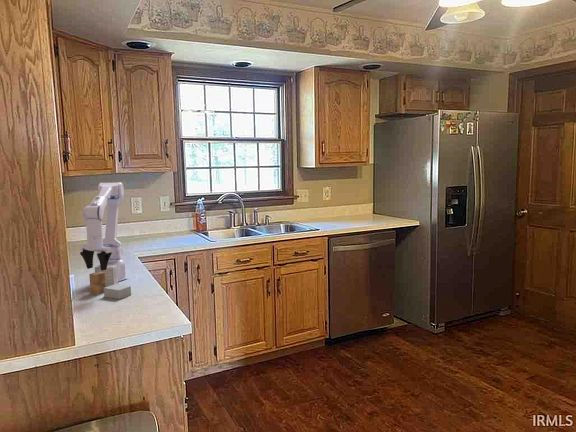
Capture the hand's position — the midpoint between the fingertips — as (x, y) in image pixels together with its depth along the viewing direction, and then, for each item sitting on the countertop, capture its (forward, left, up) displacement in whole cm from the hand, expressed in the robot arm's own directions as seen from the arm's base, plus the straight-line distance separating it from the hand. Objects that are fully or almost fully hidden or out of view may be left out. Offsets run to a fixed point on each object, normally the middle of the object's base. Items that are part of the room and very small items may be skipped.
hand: (96, 269), depth 174 cm
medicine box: (-9, -4, -10) cm, 14 cm away
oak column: (0, 0, -10) cm, 10 cm away
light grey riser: (0, +10, -10) cm, 14 cm away
